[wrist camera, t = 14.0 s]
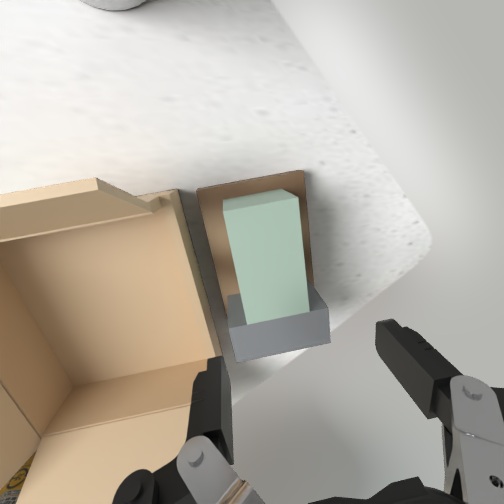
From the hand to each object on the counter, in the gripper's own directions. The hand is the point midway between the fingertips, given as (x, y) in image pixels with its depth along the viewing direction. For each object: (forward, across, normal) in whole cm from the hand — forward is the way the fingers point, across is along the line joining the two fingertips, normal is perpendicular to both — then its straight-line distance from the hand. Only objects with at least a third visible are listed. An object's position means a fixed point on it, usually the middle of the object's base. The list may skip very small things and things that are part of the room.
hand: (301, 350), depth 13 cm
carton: (+13, +15, +2) cm, 20 cm away
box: (+11, 0, +1) cm, 11 cm away
